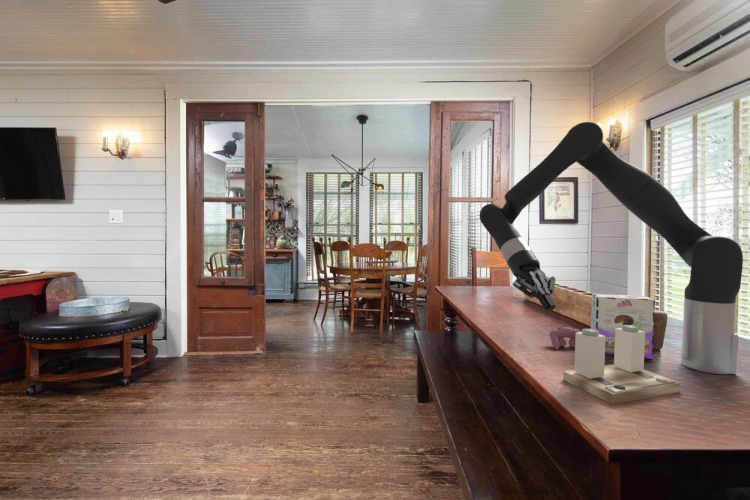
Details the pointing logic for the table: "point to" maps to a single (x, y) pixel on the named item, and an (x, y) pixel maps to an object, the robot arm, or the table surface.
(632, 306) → the candy box
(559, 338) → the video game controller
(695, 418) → the table surface
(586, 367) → the white bottle with cap
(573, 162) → the robot arm
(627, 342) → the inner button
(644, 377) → the switch board
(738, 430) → the table surface
